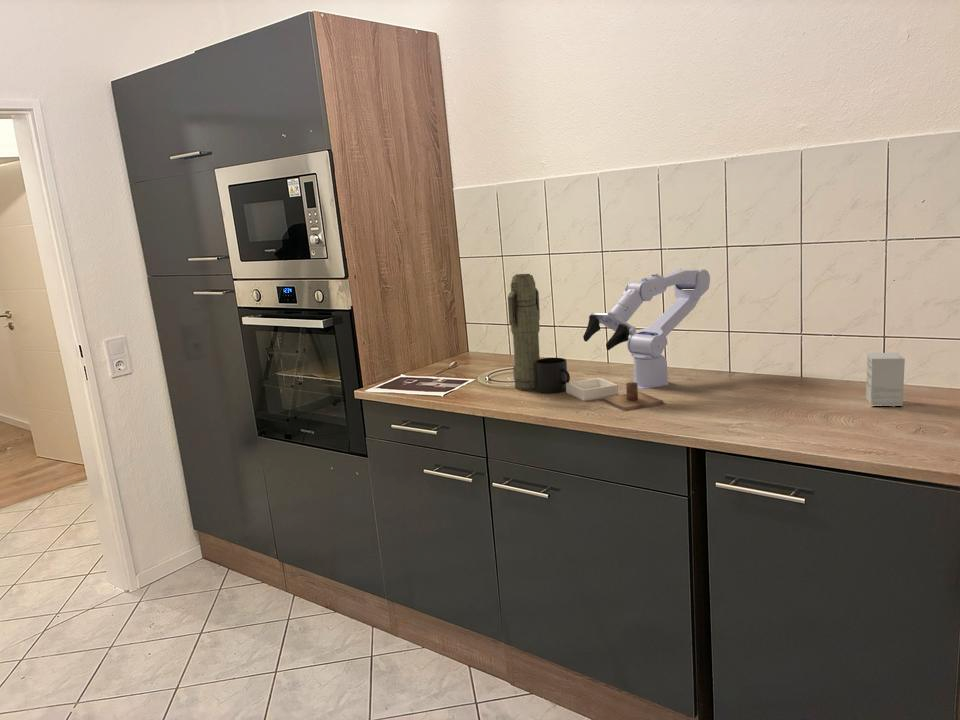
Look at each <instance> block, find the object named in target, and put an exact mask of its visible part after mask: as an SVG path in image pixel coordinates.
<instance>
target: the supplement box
mask: <svg viewBox="0 0 960 720" xmlns="http://www.w3.org/2000/svg"><path fill="white" fill-rule="evenodd" d="M866 355H867V357H866V358H867V359H866V361H867V362H866V390H865V400H866V399H867V400H868V402H869V403H870V405H876V406H877V405H879V406H880V405H881V406H903V405H904V387H905V386H904V384H905V383H904V382H905V364H906V363H905V362H906V359H905V358H904V356H903V355H902V354H900V353H899V352H867V353H866ZM867 400H866V401H867ZM868 402H867V403H868ZM869 403H868V404H869ZM870 405H869V406H870ZM903 407H904V406H903Z"/></svg>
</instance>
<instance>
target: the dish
mask: <svg viewBox="0 0 960 720" xmlns="http://www.w3.org/2000/svg"><path fill="white" fill-rule="evenodd" d="M565 391H566V394H568V395H570V396H572V397H574V398H576V399H578V400H580V401H582V402H587V401H593V400H599V399H600V400H601V399H602V398H605V397H611V396H617V395H619V385H618V384H617V383H613V382H611V381H609V380H607V379H604V378H601V377H594V378H588V379H583V380H576V381H569V382H568V383H566V390H565Z"/></svg>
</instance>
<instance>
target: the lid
mask: <svg viewBox="0 0 960 720" xmlns="http://www.w3.org/2000/svg"><path fill="white" fill-rule="evenodd" d="M625 385H626V387H625V388H626V393H624V394H618V395H617V396H611V397H605V398H601V399H602V401H604V402H607V403H609V404H611V405H613V406H616V407H618V408H620V409H623V410H629V411H631V410H630V409H635V410H637V409H636V408H640V409H643V408H642V407H646V408H648V407H647V406H652V407H654V406H653V405H658V406H660V405H659V404H663V403H664V400H662V399H660V398H657V397H654V396H651V395H650V394H647V393H644V392H642V391H639V388H638V384H637V383H636V382H634V381H629V382H626V384H625ZM602 401H601V402H602ZM604 402H603V403H604ZM609 404H608V405H609ZM611 405H610V406H611ZM663 405H664V404H663ZM613 406H612V407H613ZM618 408H617V409H618ZM620 409H619V410H620Z"/></svg>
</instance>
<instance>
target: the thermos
mask: <svg viewBox="0 0 960 720" xmlns="http://www.w3.org/2000/svg"><path fill="white" fill-rule="evenodd" d="M507 305H508V323H509V325H510V331H511V334H512V341H513V355H514V356H513V358H514V363H513V367H512V371H513V380H514V389H516V390H520V389H521V390H523V391H530V390H531V391H532V390H537V384H536V366H535V361H536V360H539V359H541V358H540V339H539V338H540V337H539V333H540V331H541V330H540V318H541V317H540V316H541V315H540V313H541V312H540V293H539V291H538V288H537V286H536V281H535V279H534V276H533V275H532V274H531V273H517V274H514V275H513V276H512V278H511V281H510V292H509V293H508V295H507Z"/></svg>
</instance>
